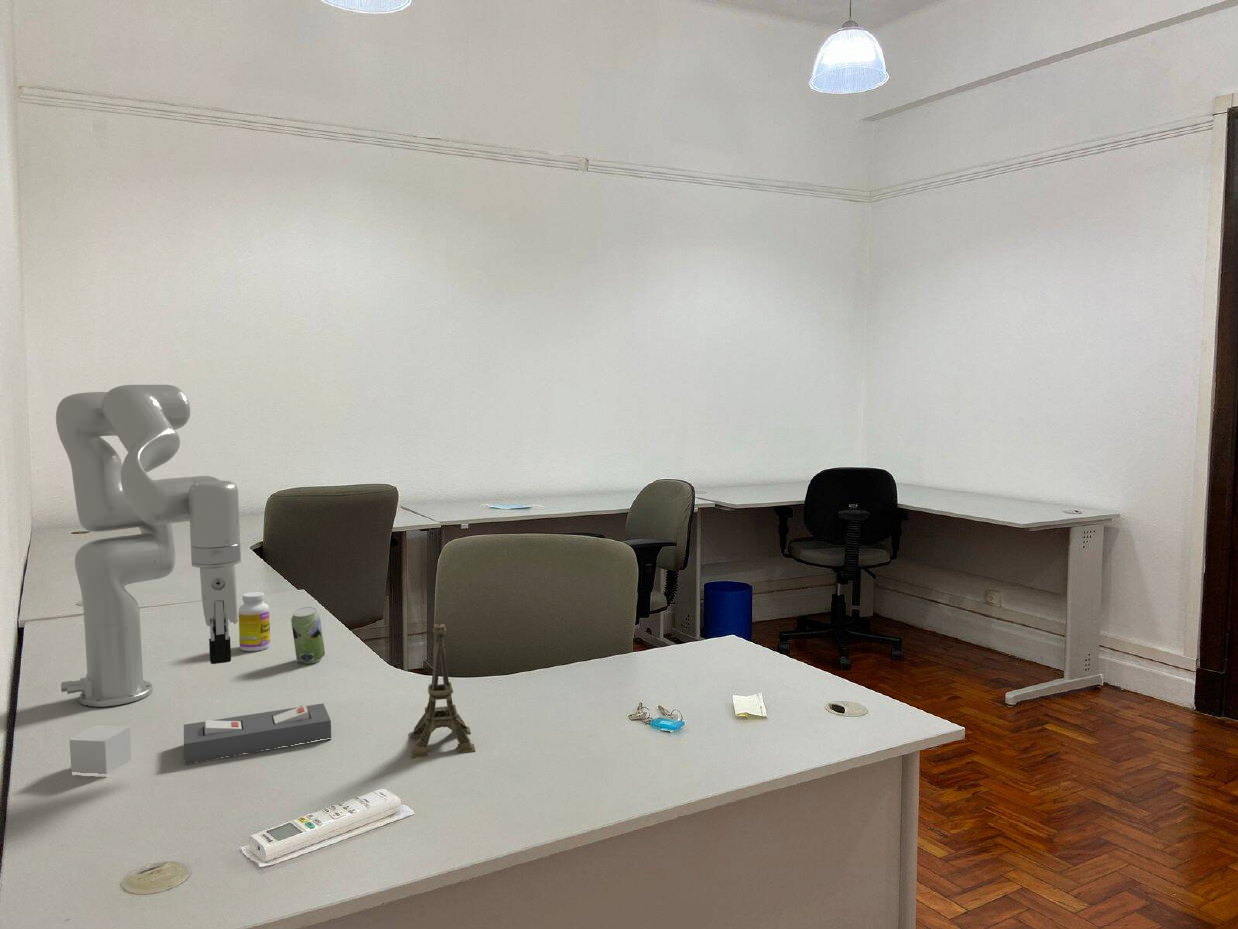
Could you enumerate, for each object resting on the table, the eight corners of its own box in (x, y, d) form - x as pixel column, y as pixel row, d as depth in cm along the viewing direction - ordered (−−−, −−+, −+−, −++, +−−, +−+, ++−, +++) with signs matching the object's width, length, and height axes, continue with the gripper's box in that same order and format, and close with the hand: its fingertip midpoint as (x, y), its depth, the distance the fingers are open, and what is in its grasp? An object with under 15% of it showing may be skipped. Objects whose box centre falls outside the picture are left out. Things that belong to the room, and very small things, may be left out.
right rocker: (276, 729, 152) (274, 722, 152) (274, 722, 155) (272, 715, 155) (309, 718, 154) (307, 711, 154) (307, 711, 158) (305, 704, 157)
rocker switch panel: (184, 764, 144) (183, 744, 143) (184, 728, 158) (183, 710, 158) (331, 739, 154) (330, 720, 153) (318, 708, 168) (317, 690, 168)
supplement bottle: (263, 652, 203) (261, 597, 201) (234, 652, 203) (232, 597, 201) (275, 643, 209) (273, 590, 208) (247, 643, 209) (245, 590, 208)
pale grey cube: (97, 760, 146) (95, 725, 145) (131, 762, 145) (129, 726, 144) (71, 776, 140) (69, 739, 139) (106, 778, 139) (104, 741, 138)
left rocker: (204, 734, 147) (206, 726, 147) (204, 727, 150) (205, 719, 150) (240, 735, 150) (242, 728, 150) (239, 728, 153) (240, 720, 153)
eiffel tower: (411, 759, 146) (408, 612, 144) (409, 734, 156) (406, 596, 154) (475, 752, 149) (473, 607, 147) (469, 728, 159) (467, 592, 157)
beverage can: (329, 657, 199) (328, 605, 198) (315, 667, 192) (313, 613, 191) (303, 656, 200) (301, 604, 199) (287, 666, 193) (285, 613, 192)
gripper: (243, 561, 142) (247, 671, 144) (237, 545, 155) (241, 646, 157) (191, 565, 139) (196, 678, 141) (190, 549, 152) (195, 652, 154)
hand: (220, 661), depth 149 cm, fingers closed
